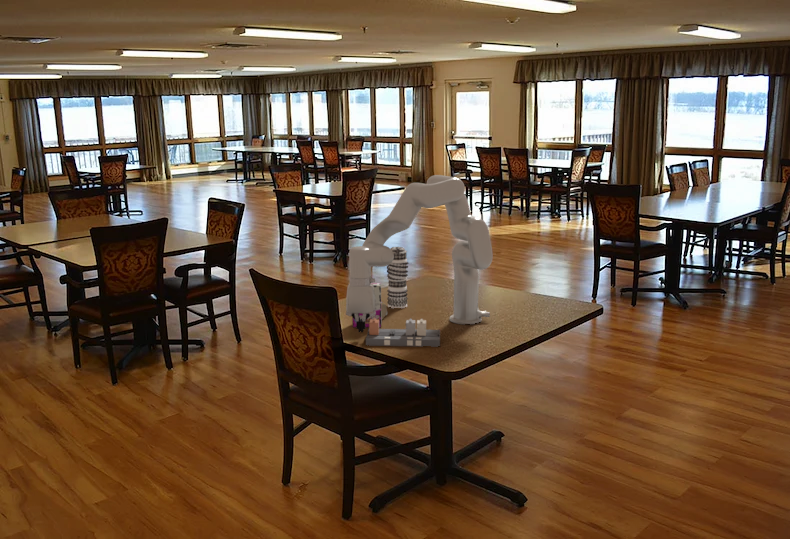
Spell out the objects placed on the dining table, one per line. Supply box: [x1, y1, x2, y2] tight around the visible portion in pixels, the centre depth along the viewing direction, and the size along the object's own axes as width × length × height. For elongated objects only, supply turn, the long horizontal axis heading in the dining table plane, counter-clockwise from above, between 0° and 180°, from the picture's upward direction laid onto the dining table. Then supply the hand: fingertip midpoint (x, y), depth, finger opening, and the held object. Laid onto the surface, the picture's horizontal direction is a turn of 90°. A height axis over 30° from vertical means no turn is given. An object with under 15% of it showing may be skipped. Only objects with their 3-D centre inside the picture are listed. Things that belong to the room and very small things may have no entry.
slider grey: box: [405, 318, 416, 336], centre depth 259 cm, size 3×4×5 cm
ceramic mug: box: [381, 301, 388, 320], centre depth 289 cm, size 11×8×8 cm
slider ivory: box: [416, 318, 427, 336], centre depth 259 cm, size 3×4×5 cm
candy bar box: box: [351, 282, 383, 328], centre depth 277 cm, size 11×5×16 cm, turn 90°
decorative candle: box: [386, 246, 409, 309], centre depth 304 cm, size 9×9×25 cm
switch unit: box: [365, 328, 441, 348], centre depth 260 cm, size 26×12×3 cm, turn 86°
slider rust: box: [368, 318, 380, 335], centre depth 260 cm, size 3×4×5 cm
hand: (361, 331), depth 261 cm, fingers closed
